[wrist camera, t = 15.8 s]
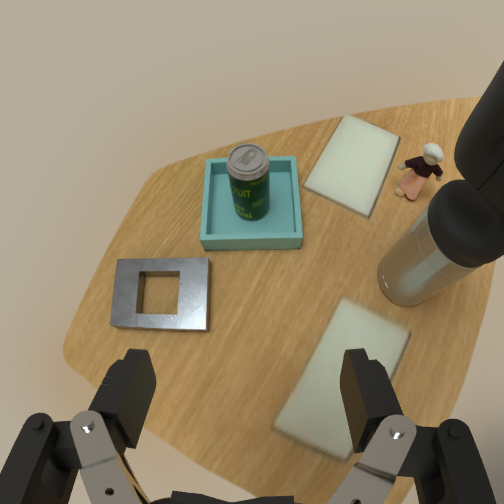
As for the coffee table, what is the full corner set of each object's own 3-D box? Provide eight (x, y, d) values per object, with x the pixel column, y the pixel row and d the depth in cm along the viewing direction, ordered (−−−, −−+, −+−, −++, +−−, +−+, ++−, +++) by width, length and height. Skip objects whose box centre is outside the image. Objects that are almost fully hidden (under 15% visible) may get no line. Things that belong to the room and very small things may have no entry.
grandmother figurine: (390, 200, 50) (418, 153, 38) (387, 181, 51) (412, 133, 39) (429, 204, 49) (462, 161, 37) (425, 185, 50) (455, 141, 39)
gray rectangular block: (211, 263, 47) (208, 257, 45) (209, 331, 43) (205, 329, 41) (124, 264, 47) (117, 259, 45) (117, 328, 44) (110, 325, 41)
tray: (293, 171, 52) (295, 156, 49) (300, 248, 47) (302, 237, 43) (210, 173, 53) (206, 159, 49) (205, 250, 48) (199, 240, 44)
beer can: (248, 186, 51) (242, 135, 39) (276, 202, 49) (277, 153, 38) (227, 210, 49) (216, 163, 38) (256, 228, 48) (252, 183, 37)
